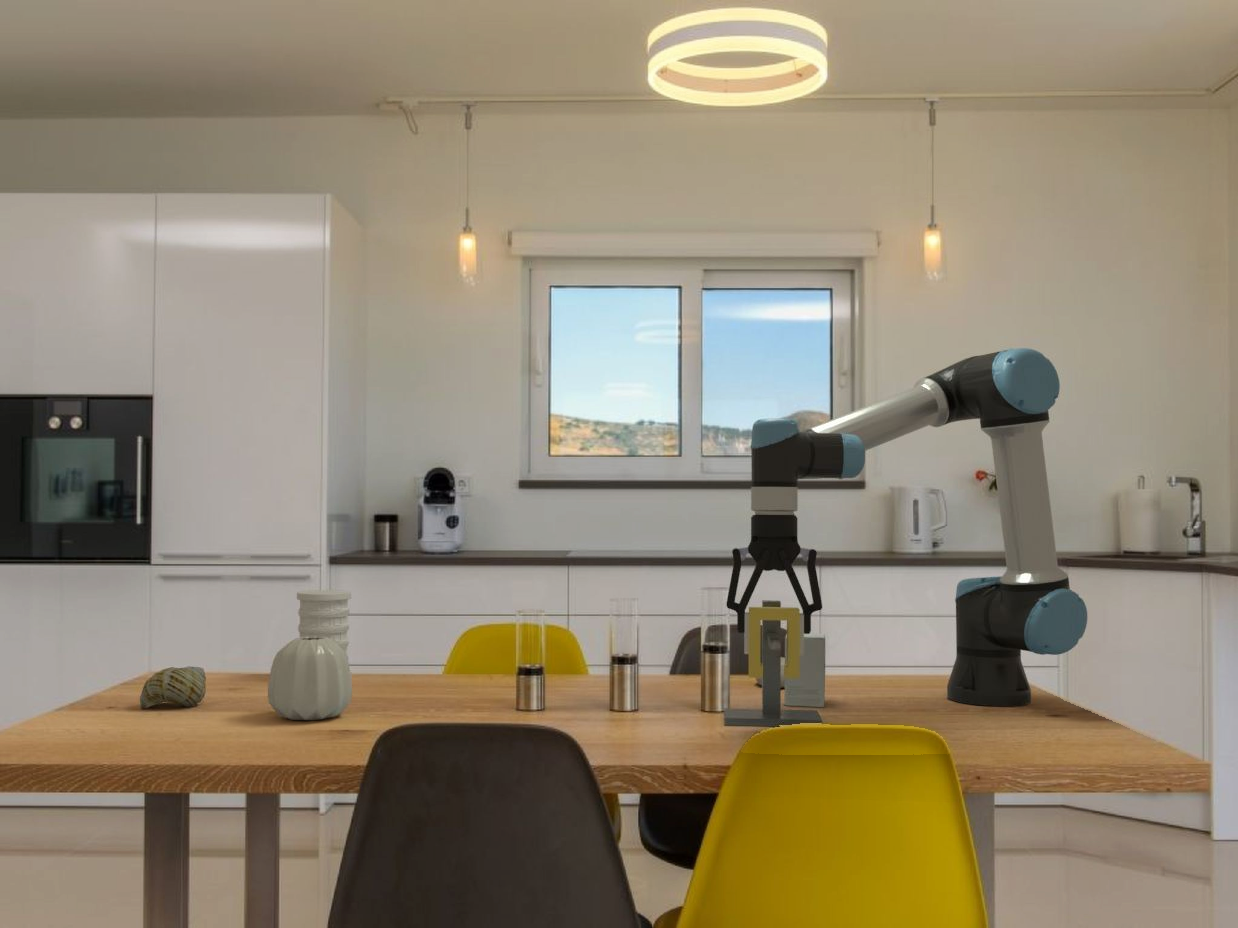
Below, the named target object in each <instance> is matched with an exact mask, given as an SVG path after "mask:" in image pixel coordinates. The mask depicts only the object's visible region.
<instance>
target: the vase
mask: <svg viewBox="0 0 1238 928" xmlns="http://www.w3.org/2000/svg"><path fill="white" fill-rule="evenodd" d="M350 672H351V669H350V663H349V657H348V658H347V656H346V653H345V651H344V650H343V649H342V648H341V647H340V646H339V645H338V644H336V643H335V642H334V641H332V640H330V639H329V638H326V637H301V638H300V637H297V638H294V639H293V640H291V641H289V643H287V644H286V645H284V646H283V647H282V648H281V649H279V651H277V652H276V654H275V657H274V659H273V661H272V664H271V667H270V672H269V677H268V685H267V698H268V703H269V705H270V706H271V708H272V709H273V710H274V711H275V713H277V715H278V716H279V717H281V718H283V719H289V720H291V721H292V720H294V721H318V720H324V719H325V720H326V719H330V718H335V717H337V716H338V715H340V714H342V713H343V712H344V711H345V710H346V709H347V707H348V706H349V705H350V703H351V702H352V696H353V680H352V676H351V673H352V672H351V673H350Z"/></svg>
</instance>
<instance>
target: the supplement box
mask: <svg viewBox="0 0 1238 928" xmlns="http://www.w3.org/2000/svg"><path fill="white" fill-rule="evenodd" d="M784 658H785V664H787V633H786V634H785V637H784ZM825 693H826V634H825V633H811V632H810V634H804V655H799V678H785V687H784V702H783V703H784V706H788V707H790V706H791V707H809V708H811V707H812V708H824V707H825V696H826V695H825Z"/></svg>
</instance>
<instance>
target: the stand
mask: <svg viewBox="0 0 1238 928" xmlns="http://www.w3.org/2000/svg"><path fill="white" fill-rule="evenodd" d="M761 603H762V604H761V607H782V606H781V605H782V602H781V600H768V599H767V600H762V601H761ZM781 621H782V620H761V636H762V637H761V663H762V665H763V678H762V685H761V708H723V709H724V710H723V721H724V722H723V723H724V726H737V727H738V726H739V727H743V726H744V727H777V726H779V725H792V724H800V723H822V724H823V718H822V716H821V715H820V713H819V711H818V710H813V709H781V707H782V706H781V697H782V696H781V695H782V694H781V692H782V691H781V689H782V688H781V657H782V656H781V655H782V653H781V652H782V651H781V650H782V642H781V641H782V640H781V639H782V638H781V636H782V634H781V633H782V629H781V625H782V623H781Z"/></svg>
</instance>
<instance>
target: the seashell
mask: <svg viewBox="0 0 1238 928" xmlns="http://www.w3.org/2000/svg"><path fill="white" fill-rule="evenodd" d="M206 679H207V678H206V672H205V670H204V668H202V667H199V666H186V667H173V666H172V667H168V668H167V667H166V668H164V669H161V670H159V671H157V672H155V673H154V674H153V675H152V676H151V677H149V678H148V679H147V680H146V682H145V683H144V685H143V687H142V690H141V694H140V696H139V704H140V708H141V709H148V708H150V707H153V706H156V705H158V704H162V703H169V704H173V705H175V706H180V707H182V708H191V707H194V706H196V705H198V704H199V703H201V701H202V700H203V699H204V698H205V694H206V689H207V688H206Z"/></svg>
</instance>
